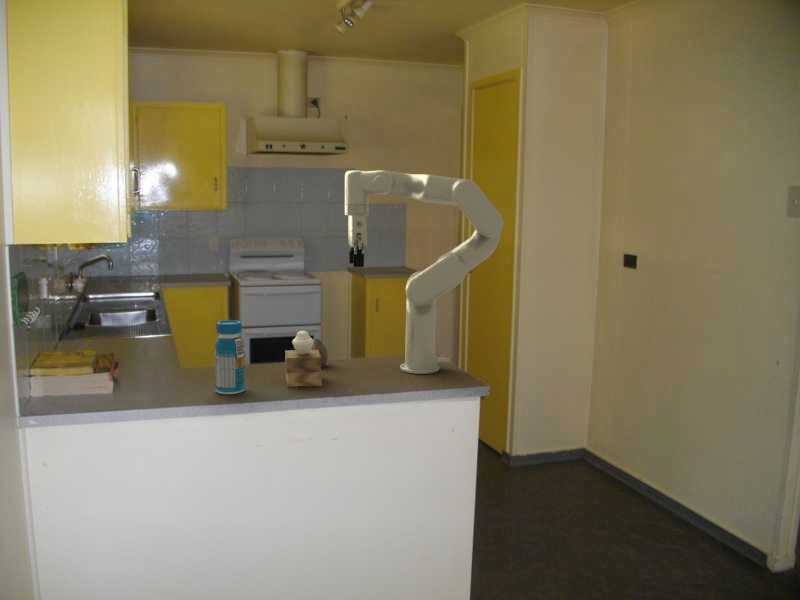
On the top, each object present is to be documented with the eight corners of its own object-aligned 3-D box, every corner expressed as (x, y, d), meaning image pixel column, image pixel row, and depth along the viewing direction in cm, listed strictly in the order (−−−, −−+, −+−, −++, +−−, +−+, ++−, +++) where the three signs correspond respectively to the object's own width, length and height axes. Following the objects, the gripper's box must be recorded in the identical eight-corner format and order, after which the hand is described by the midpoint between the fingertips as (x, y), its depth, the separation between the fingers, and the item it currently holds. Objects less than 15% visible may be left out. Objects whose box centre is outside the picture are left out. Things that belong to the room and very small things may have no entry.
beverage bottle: (217, 396, 210) (216, 325, 207) (212, 388, 218) (211, 320, 215) (248, 393, 214) (247, 323, 210) (241, 385, 221) (240, 318, 218)
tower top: (318, 363, 232) (318, 349, 231) (320, 372, 222) (320, 357, 221) (285, 364, 230) (285, 350, 229) (286, 373, 220) (286, 358, 219)
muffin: (314, 350, 228) (313, 327, 227) (313, 355, 222) (312, 332, 221) (293, 351, 228) (292, 328, 227) (292, 356, 222) (291, 333, 221)
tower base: (318, 378, 232) (318, 363, 232) (321, 386, 223) (321, 372, 222) (285, 379, 231) (285, 364, 230) (287, 388, 221) (287, 373, 220)
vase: (324, 369, 242) (324, 342, 241) (303, 367, 243) (303, 341, 242) (330, 364, 249) (330, 338, 247) (310, 362, 250) (310, 336, 249)
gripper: (373, 211, 229) (372, 268, 232) (364, 209, 246) (364, 262, 248) (348, 211, 228) (348, 268, 230) (341, 209, 244) (341, 262, 247)
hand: (356, 265), depth 239 cm, fingers open, 9 cm apart
